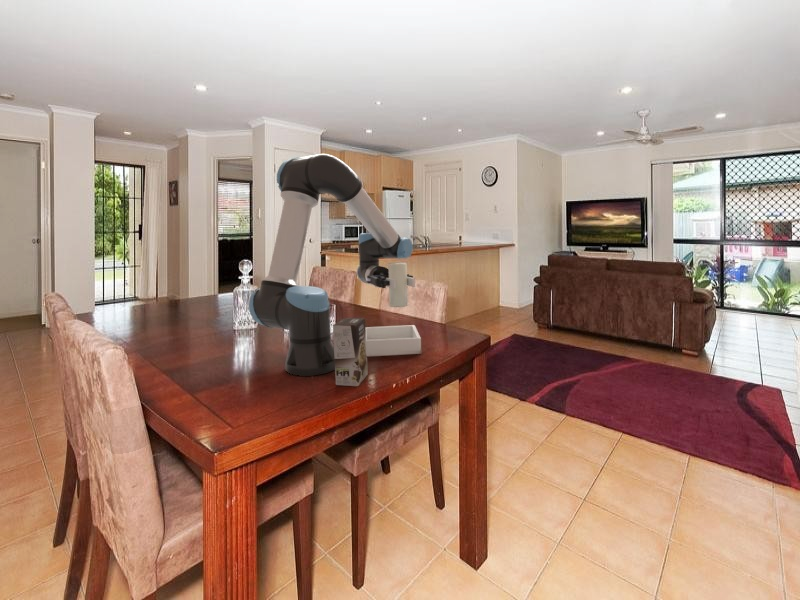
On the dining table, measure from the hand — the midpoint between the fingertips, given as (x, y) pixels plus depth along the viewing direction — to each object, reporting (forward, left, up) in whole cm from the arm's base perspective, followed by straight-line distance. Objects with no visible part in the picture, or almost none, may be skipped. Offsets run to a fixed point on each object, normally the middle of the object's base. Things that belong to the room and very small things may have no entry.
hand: (404, 283), depth 137 cm
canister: (-2, +5, -8) cm, 9 cm away
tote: (-5, +4, -22) cm, 23 cm away
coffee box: (-17, -25, -22) cm, 37 cm away
